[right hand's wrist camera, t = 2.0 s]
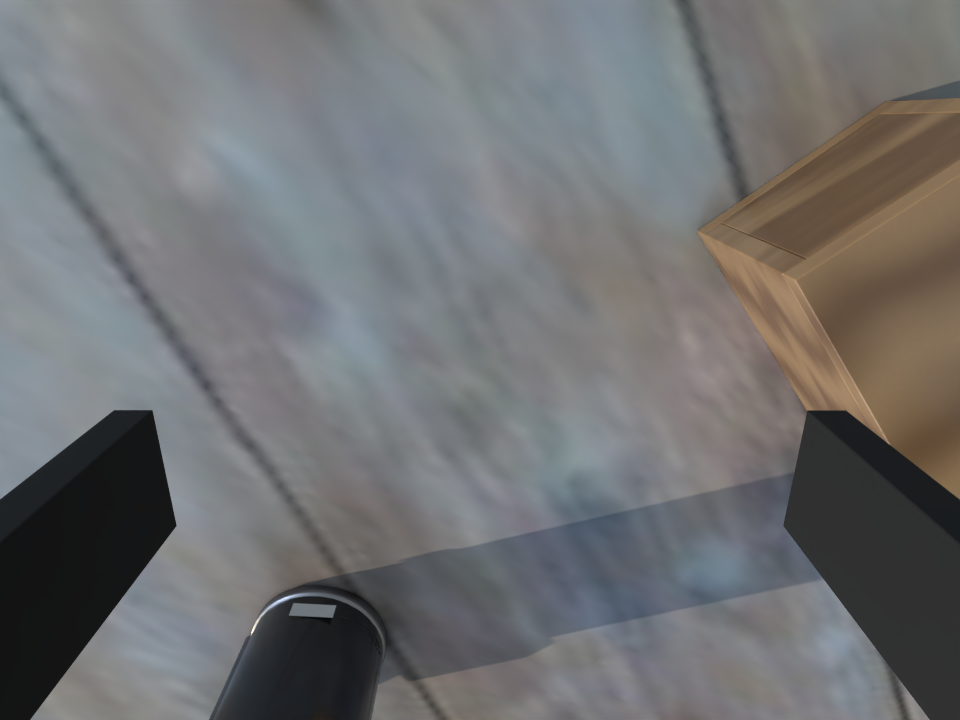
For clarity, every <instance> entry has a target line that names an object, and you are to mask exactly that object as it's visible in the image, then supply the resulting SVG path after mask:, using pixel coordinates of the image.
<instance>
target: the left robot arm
mask: <svg viewBox="0 0 960 720" xmlns="http://www.w3.org/2000/svg"><path fill="white" fill-rule="evenodd" d="M386 643H387V641H386V632H385V629H384V626H383V624H382V622H381V620H380V618H379V617H378V615H377V614H376V612H375V611H374V610H373V609H372V608H371V607H370V606H369V605H368V604H366V603H365V602H364V601H362V600H361V599H359V598H358V597H356V596H354V595H352V594H350V593H348V592H345V591H342V590H340V589H336V588H331V587H325V586H305V587H298V588H294V589H291V590H288V591H285V592H283V593H281V594H279V595H277V596H276V597H274V598H273V599H272V600H270V601H269V602H268V603H267V604H266V605H265V606H264V608H263V609H262V610H261V612H260V614H259V616H258V618H257V620H256V622H255V625H254V627H253V630H252V634H251V635H250V636H248V637H247V638H246V639H245V642H244V644H243V646H242V648H241V650H240V653H239V655H238V657H237V659H236V661H235V664H234V666H233V668H232V670H231V672H230V675H229V677H228V679H227V681H226V683H225V686H224V688H223V690H222V692H221V694H220V697H219V699H218V701H217V703H216V705H215V708H214V710H213V712H212V714H211V716H210V719H209V720H371V719H372V713H373V708H374V702H375V697H376V692H377V686H378V681H379V675H380V670H381V667H382V664H383V661H384V656H385V651H386Z"/></svg>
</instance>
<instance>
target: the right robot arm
mask: <svg viewBox="0 0 960 720" xmlns="http://www.w3.org/2000/svg"><path fill="white" fill-rule="evenodd" d="M175 527H176V521H175V516H174V512H173V507H172V502H171V497H170V492H169V488H168V483H167V478H166V473H165V469H164V464H163V459H162V454H161V449H160V445H159V440H158V435H157V430H156V425H155V421H154V416H153V411H152V410H114V411H113V412H111V413H110V414H109V415H108V416H106V417H105V418H104V419H102V420H101V421H100V422H99V423H97V424H96V425H95V426H94V427H92V428H91V429H90V430H88V431H87V432H86V433H85V434H83V435H82V436H81V437H79V438H78V439H77V440H76V441H74V442H73V443H72V444H71V445H69V446H68V447H67V448H65V449H64V450H63V451H62V452H60V453H59V454H58V455H56V456H55V457H54V458H53V459H51V460H50V461H49V462H48V463H46V464H45V465H44V466H42V467H41V468H40V469H39V470H37V471H36V472H35V473H34V474H32V475H31V476H30V477H28V478H27V479H26V480H25V481H23V482H22V483H21V484H19V485H18V486H17V487H16V488H14V489H13V490H12V491H11V492H9V493H8V494H7V495H5V496H4V497H3V498H2V499H0V720H30V719H31V718H32V716H33V715H34V714H35V712H36V711H37V710H38V708H39V707H40V706H41V705H42V703H43V702H44V701H45V699H46V698H47V697H48V695H49V694H50V693H51V691H52V690H53V689H54V687H55V686H56V685H57V683H58V682H59V681H60V679H61V678H62V677H63V675H64V674H65V673H66V671H67V670H68V669H69V667H70V666H71V665H72V663H73V662H74V661H75V659H76V658H77V657H78V656H79V654H80V653H81V652H82V650H83V649H84V648H85V646H86V645H87V644H88V642H89V641H90V640H91V638H92V637H93V636H94V634H95V633H96V632H97V630H98V629H99V628H100V626H101V625H102V624H103V622H104V621H105V620H106V618H107V617H108V616H109V614H110V613H111V612H112V610H113V609H114V608H115V607H116V605H117V604H118V603H119V601H120V600H121V599H122V597H123V596H124V595H125V593H126V592H127V591H128V589H129V588H130V587H131V585H132V584H133V583H134V581H135V580H136V579H137V577H138V576H139V575H140V573H141V572H142V571H143V569H144V568H145V567H146V565H147V564H148V563H149V562H150V560H151V559H152V558H153V556H154V555H155V554H156V552H157V551H158V550H159V548H160V547H161V546H162V544H163V543H164V542H165V540H166V539H167V538H168V536H169V535H170V534H171V532H172V531H173V530H174V528H175ZM784 527H785V528H786V530H787V531H788V532H789V534H790V535H791V536H792V538H793V539H794V540H795V542H796V543H797V544H798V546H799V547H800V548H801V550H802V551H803V552H804V554H805V555H806V556H807V558H808V559H809V560H810V562H811V563H812V564H813V565H814V567H815V568H816V569H817V571H818V572H819V573H820V575H821V576H822V577H823V579H824V580H825V581H826V583H827V584H828V585H829V587H830V588H831V589H832V591H833V592H834V593H835V595H836V596H837V597H838V599H839V600H840V601H841V603H842V604H843V605H844V607H845V608H846V609H847V610H848V612H849V613H850V614H851V616H852V617H853V618H854V620H855V621H856V622H857V624H858V625H859V626H860V628H861V629H862V630H863V632H864V633H865V634H866V636H867V637H868V638H869V640H870V641H871V642H872V644H873V645H874V646H875V648H876V649H877V650H878V652H879V653H880V654H881V656H882V657H883V658H884V659H885V661H886V662H887V663H888V665H889V666H890V667H891V669H892V670H893V671H894V673H895V674H896V675H897V677H898V678H899V679H900V681H901V682H902V683H903V685H904V686H905V687H906V689H907V690H908V691H909V693H910V694H911V695H912V697H913V698H914V699H915V701H916V702H917V703H918V705H919V706H920V707H921V708H922V710H923V711H924V712H925V714H926V715H927V716H928V718H929V719H930V720H960V499H958V498H957V497H956V496H955V495H953V494H952V493H951V492H949V491H948V490H947V489H946V488H944V487H943V486H942V485H941V484H939V483H938V482H937V481H935V480H934V479H933V478H932V477H930V476H929V475H928V474H926V473H925V472H924V471H923V470H921V469H920V468H919V467H918V466H916V465H915V464H914V463H912V462H911V461H910V460H909V459H907V458H906V457H905V456H904V455H902V454H901V453H900V452H898V451H897V450H896V449H895V448H893V447H892V446H891V445H889V444H888V443H887V442H886V441H884V440H883V439H882V438H881V437H879V436H878V435H877V434H875V433H874V432H873V431H872V430H870V429H869V428H868V427H866V426H865V425H864V424H863V423H861V422H860V421H859V420H858V419H856V418H855V417H854V416H852V415H851V414H850V413H849V412H847V411H846V410H808V411H807V416H806V421H805V425H804V430H803V435H802V440H801V445H800V449H799V454H798V459H797V464H796V469H795V473H794V478H793V483H792V488H791V492H790V497H789V502H788V507H787V512H786V516H785V521H784Z"/></svg>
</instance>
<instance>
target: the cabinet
mask: <svg viewBox="0 0 960 720" xmlns="http://www.w3.org/2000/svg"><path fill="white" fill-rule="evenodd" d="M697 232H698V234H699V236H700V237H701V239H702V241H703V242H704V244H705V245H706V247H707V249H708V250H709V252H710V254H711V255H712V257H713V258H714V260H715V262H716V263H717V265H718V267H719V268H720V270H721V272H722V273H723V275H724V276H725V278H726V280H727V281H728V283H729V285H730V286H731V288H732V289H733V291H734V293H735V294H736V296H737V298H738V299H739V301H740V302H741V304H742V306H743V307H744V309H745V311H746V312H747V314H748V315H749V317H750V319H751V320H752V322H753V324H754V325H755V327H756V328H757V330H758V332H759V333H760V335H761V337H762V338H763V340H764V342H765V343H766V345H767V346H768V348H769V350H770V351H771V353H772V355H773V356H774V358H775V359H776V361H777V363H778V364H779V366H780V368H781V369H782V371H783V372H784V374H785V376H786V377H787V379H788V381H789V382H790V384H791V385H792V387H793V389H794V390H795V392H796V394H797V395H798V397H799V399H800V400H801V402H802V403H803V405H804V407H805V408H806V410H807V411H808V410H846V411H847V412H849V413H850V414H851V415H852V416H854V417H855V418H856V419H858V420H859V421H860V422H861V423H863V424H864V425H865V426H866V427H868V428H869V429H870V430H872V431H873V432H874V433H875V434H877V435H878V436H879V437H881V438H882V439H883V440H884V441H886V442H887V443H888V444H889V445H891V446H892V447H893V448H895V449H896V450H897V451H898V452H900V453H901V454H902V455H904V456H905V457H906V458H907V459H909V460H910V461H911V462H912V463H914V464H915V465H916V466H918V467H919V468H920V469H921V470H923V471H924V472H925V473H926V474H928V475H929V476H930V477H932V478H933V479H934V480H935V481H937V482H938V483H939V484H941V485H942V486H943V487H944V488H946V489H947V490H948V491H949V492H951V493H952V494H953V495H955V496H956V497H957V498H958V499H960V98H947V99H927V100H907V101H886V102H884V103H883V104H881V105H880V106H879V107H877V108H876V109H874V110H873V111H871V112H870V113H868V114H867V115H865V116H864V117H862V118H861V119H860V120H858V121H857V122H855V123H854V124H852V125H851V126H849V127H848V128H846V129H845V130H844V131H842V132H841V133H839V134H838V135H836V136H835V137H833V138H832V139H830V140H829V141H828V142H826V143H825V144H823V145H822V146H820V147H819V148H817V149H816V150H814V151H813V152H812V153H810V154H809V155H807V156H806V157H804V158H803V159H801V160H800V161H798V162H797V163H796V164H794V165H793V166H791V167H790V168H788V169H787V170H785V171H784V172H782V173H781V174H779V175H778V176H777V177H775V178H774V179H772V180H771V181H769V182H768V183H766V184H765V185H763V186H762V187H761V188H759V189H758V190H756V191H755V192H753V193H752V194H750V195H749V196H747V197H746V198H745V199H743V200H742V201H740V202H739V203H737V204H736V205H734V206H733V207H731V208H730V209H729V210H727V211H726V212H724V213H723V214H721V215H720V216H718V217H717V218H715V219H714V220H713V221H711V222H710V223H708V224H707V225H705V226H704V227H702V228H701V229H699V230H698V231H697Z"/></svg>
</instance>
